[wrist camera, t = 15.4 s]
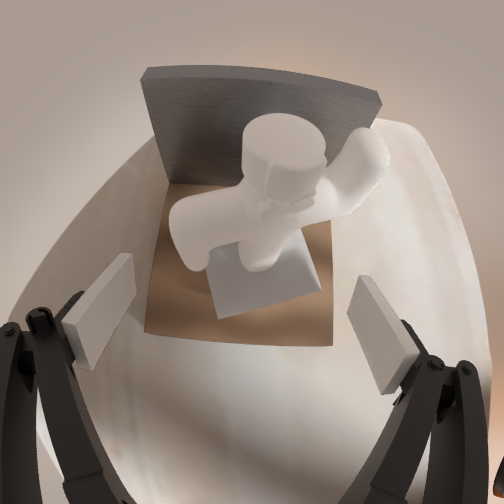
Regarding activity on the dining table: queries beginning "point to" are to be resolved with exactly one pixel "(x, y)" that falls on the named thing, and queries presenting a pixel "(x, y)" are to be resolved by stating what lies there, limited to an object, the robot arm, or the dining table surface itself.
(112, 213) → the dining table surface
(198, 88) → the grey metal bookend
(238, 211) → the figurine
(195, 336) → the walnut shelf board
